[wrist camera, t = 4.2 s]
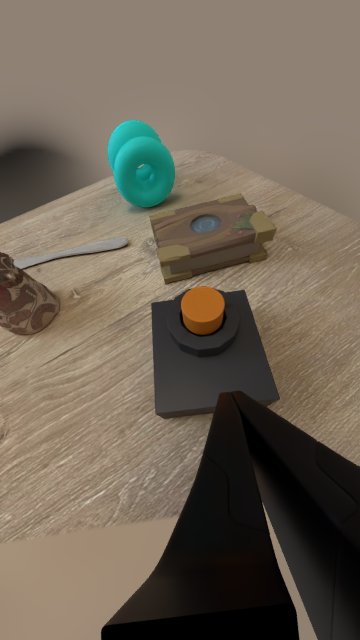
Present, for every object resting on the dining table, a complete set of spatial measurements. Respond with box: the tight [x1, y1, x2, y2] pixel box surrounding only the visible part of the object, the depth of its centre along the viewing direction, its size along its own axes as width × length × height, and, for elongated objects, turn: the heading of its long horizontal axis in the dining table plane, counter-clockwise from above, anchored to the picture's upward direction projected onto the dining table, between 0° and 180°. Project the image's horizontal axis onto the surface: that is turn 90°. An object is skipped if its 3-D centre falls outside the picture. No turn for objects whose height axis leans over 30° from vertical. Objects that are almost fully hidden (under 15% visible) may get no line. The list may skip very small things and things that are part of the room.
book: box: [149, 194, 276, 284], centre depth 30 cm, size 15×11×5 cm
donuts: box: [108, 120, 175, 207], centre depth 36 cm, size 10×10×10 cm
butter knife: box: [14, 237, 128, 269], centre depth 34 cm, size 1×27×3 cm
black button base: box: [151, 289, 280, 419], centre depth 21 cm, size 11×10×6 cm
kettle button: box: [181, 286, 225, 335], centre depth 18 cm, size 4×4×2 cm
